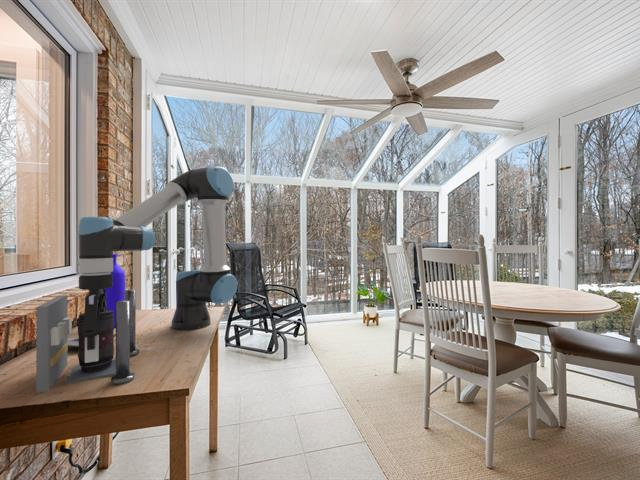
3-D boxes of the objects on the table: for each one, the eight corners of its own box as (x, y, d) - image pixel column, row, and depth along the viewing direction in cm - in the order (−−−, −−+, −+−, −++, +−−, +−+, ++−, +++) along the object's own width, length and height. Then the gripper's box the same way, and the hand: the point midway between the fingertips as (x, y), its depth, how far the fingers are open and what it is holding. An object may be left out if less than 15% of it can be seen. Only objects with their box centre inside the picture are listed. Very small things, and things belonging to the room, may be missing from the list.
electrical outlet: (81, 352, 95) (81, 344, 95) (55, 350, 98) (55, 342, 98) (117, 339, 108) (117, 332, 108) (93, 337, 110) (93, 331, 110)
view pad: (122, 360, 90) (122, 358, 90) (117, 374, 80) (117, 372, 80) (75, 367, 85) (75, 365, 85) (64, 383, 75) (64, 381, 75)
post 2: (139, 350, 98) (139, 288, 98) (138, 355, 93) (138, 290, 93) (121, 353, 95) (121, 289, 96) (119, 358, 91) (119, 292, 91)
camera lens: (120, 364, 84) (119, 310, 85) (86, 375, 77) (85, 316, 78) (106, 360, 88) (105, 308, 89) (73, 370, 82) (72, 314, 82)
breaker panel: (73, 364, 87) (73, 294, 87) (55, 390, 72) (55, 305, 72) (58, 366, 85) (58, 295, 85) (36, 393, 70) (36, 307, 70)
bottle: (112, 322, 131) (112, 253, 131) (130, 323, 130) (130, 253, 130) (96, 328, 123) (96, 254, 123) (114, 328, 122) (114, 254, 122)
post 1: (135, 374, 80) (135, 298, 80) (133, 382, 76) (133, 302, 76) (112, 378, 78) (112, 300, 78) (109, 386, 73) (109, 304, 73)
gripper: (88, 270, 91) (88, 342, 91) (66, 279, 70) (66, 373, 70) (118, 269, 95) (118, 338, 95) (106, 277, 74) (105, 367, 73)
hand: (96, 353), depth 82 cm, fingers open, 11 cm apart
